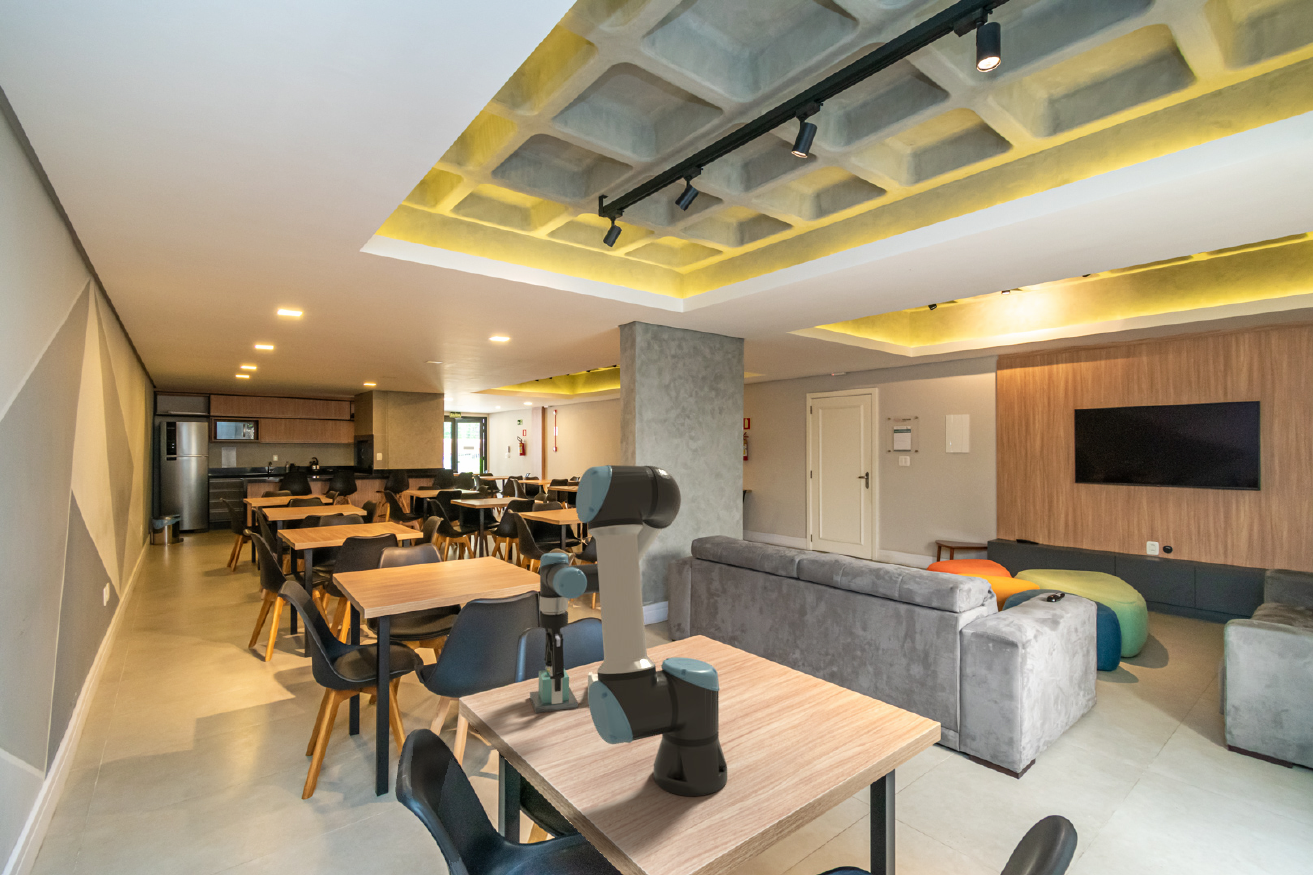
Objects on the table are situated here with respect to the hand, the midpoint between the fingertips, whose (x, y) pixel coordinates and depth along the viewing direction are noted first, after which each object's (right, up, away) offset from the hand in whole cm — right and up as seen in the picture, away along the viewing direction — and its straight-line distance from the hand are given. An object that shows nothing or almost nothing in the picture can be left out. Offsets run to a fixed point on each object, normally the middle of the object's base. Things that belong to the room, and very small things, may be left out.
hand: (553, 696), depth 163 cm
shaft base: (0, -2, +1) cm, 2 cm away
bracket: (+13, -3, +7) cm, 15 cm away
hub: (0, 0, +1) cm, 1 cm away
